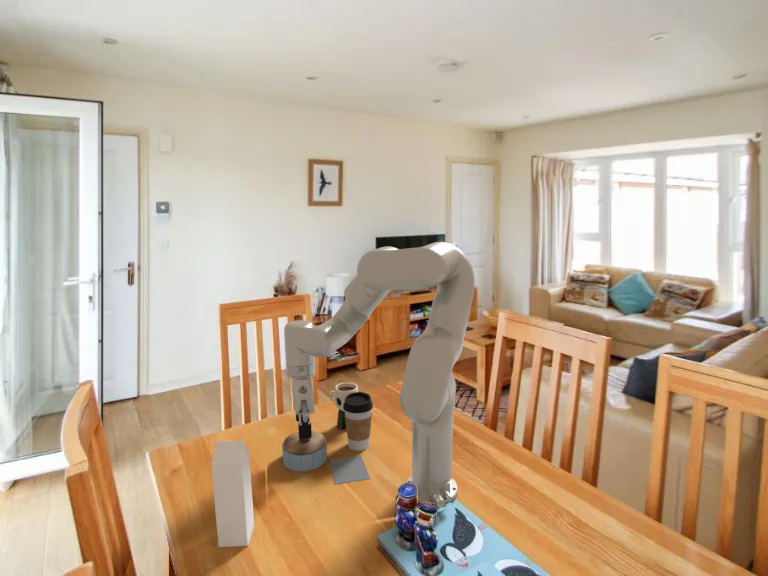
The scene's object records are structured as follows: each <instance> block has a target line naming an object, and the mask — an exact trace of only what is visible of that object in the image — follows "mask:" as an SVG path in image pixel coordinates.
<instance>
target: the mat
mask: <svg viewBox="0 0 768 576" xmlns="http://www.w3.org/2000/svg"><path fill="white" fill-rule="evenodd" d="M328 464H329V465H328V466H329V468H330V472H331V476H332V479H333V484H334V485H340V484H341V485H342V484H347V483H353V482H360V481H364V480H365V481H366V480H371V477H370V475H369V471H368V469H367V467H366V464H365V461H364V459H363V457H362V455H356V456H355V455H354V456H349V457H342V458H336V459H328Z"/></svg>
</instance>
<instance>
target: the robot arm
mask: <svg viewBox="0 0 768 576" xmlns="http://www.w3.org/2000/svg"><path fill="white" fill-rule="evenodd" d="M474 273H475V272H474V269H473V267H472V264H471V261H470V260H469V259H468V257H467V256H466V255H465V253H464V252H463V251H462V250H461V249H460V248H459V247H457V246H456V245H454V244H452V243H449V242H446V241H436V242H435V241H434V242H432V243H429V244H427V245H426V244H425V245H423V246H419V247H409V248H401V249H400V248H397V247H395V246H394V247H393V246H388V245H387V246H382V247H378V248H374V249H371V250H369V251H367V252H366V253H365V254H363V255H362V256H361V257H360V259H359V261H358V263H357V269H356V275H355V276H354V277H353V278H352V280H351V281H350V282H349V284H348V285H347V286H346V287H345V288H344V290H343V296H344V298H345V301H344V303H343V304H342V306H341V307H340V308H339V309H338V310H337V311H336V313H334V315H333V316H332V317H331V318H330V319H329V320H327V321H324V322H323V323H320V324H319V325H316V326H315V325H314V324H313V323H312V322H311V321H309V320H303V319H302V320H301V319H300V320H292V321H289V322H287V323H285V326H284V329H283V330H284V331H283V333H284V336H283V337H284V350H285V351H284V352H285V355H284V357H285V371H286V373H285V375H286V377H288V378H290V379H291V392H292V394H291V395H292V400H293V405H294V406H293V407H294V411H295V421H296V422H298V423H299V424H297V426H298V427H297V428H298V429H297V430H298V432H299V439H306V438H311V437H312V432H311V431H312V422H311V414H315V412H316V411H315V397H314V393H315V392H314V382H313V376H315V375H316V368H317V367H316V358H325V357H328V356H329V355H330V354H332V353H334V352H335V351H336V350H338V349H340V348H341V347H343V346H344V345H345V344H347V343H348V342H349V341H350V340H351V339H352V338H354V335H356V334H357V332H358V331H359V330H360V328H362V326H364V325H365V323H366V321H367V320H368V319H369V317H371V315H372V313H373V312H374V311H375V310H376V308H377V307H378V305H380V303H381V302H382V301H383V300H384V299H385V298H386V296H387V295H388V294H390V292H392V291H399V290H417V289H419V290H420V289H422V290H423V289H429V288H434V287H436V291H435V293H434V297H433V299H432V303H431V308H430V309H431V310H430V314H429V317H428V322H427V325H426V328H425V330H424V331H423V332H422V333H421V334H420V335H419V336H418V337H417V338H416V339H415V340H414V342H413V343H412V344H411V345H412V346H411V347H410V351H409V354H408V357H407V362H406V366H405V370H404V376H403V381H402V385H401V389H400V399H399V403H400V407H401V410H402V412H403V413H404V415H405V416H406V417H407V418H408V420H410V421H412V422H411V423H412V425H411V427H412V428H411V429H412V431H411V433H412V434H411V441H412V442H411V475H410V476H408V478H407V479H406V481H405V484H406V483H412V484H414V485H416V486H417V489H418V501H417V502H418V503H420V502H428V503H431V504H434V505H433V506H436V507H437V508H439V509H442V508H443V507H444V506H445V505H446V504H447V503H449V502H452V501H454V500H455V499H456V497H457V496H458V491H459V487H458V484H457V482H456V480H455V479H454V478H453V477H452V476H453V475H452V470H453V467H452V466H453V433H454V431H453V430H454V413H455V412H454V411H455V403H456V402H455V401H456V395H457V394H456V390H457V389H456V388H457V387H456V385H457V383H456V379H455V377H454V374H453V372H452V371H453V368H454V366H455V364H456V363H457V361H458V360H459V358H460V356H462V355H461V354H462V352H463V348H464V347H463V346H464V341H465V337H466V332H467V327H468V323H469V318H470V314H471V309H472V304H473V300H474V294H475V285H476V283H475V282H476V281H475V274H474Z"/></svg>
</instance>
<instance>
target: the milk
mask: <svg viewBox="0 0 768 576" xmlns="http://www.w3.org/2000/svg"><path fill="white" fill-rule="evenodd" d="M245 444H246V442H245V441H244V440H243V439H242V440H215V441H214V451H213V455H212V459H211V463H210V465H211V477H212V488H213V499H214V509H215V510H214V511H215V522H216V532H217V541H218V542H217V544H218V545H217V546H218V548H234V547H237V548H238V547H249V543H250V540H251V538H252V535H253V531H254V529H255V518H254V515H255V514H254V504H253V491H252V475H251V473H252V472H251V462H250V448H249V446H245Z"/></svg>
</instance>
